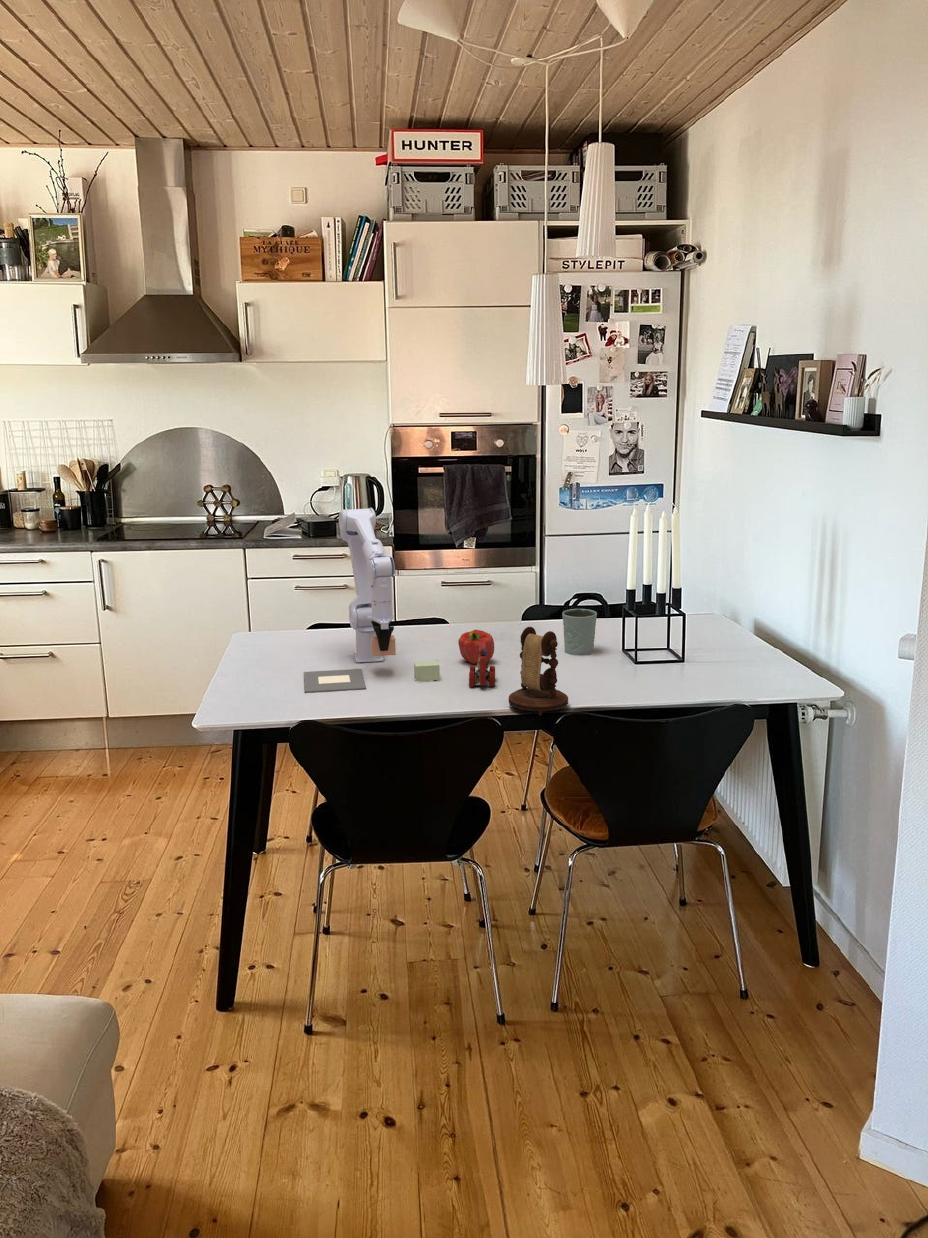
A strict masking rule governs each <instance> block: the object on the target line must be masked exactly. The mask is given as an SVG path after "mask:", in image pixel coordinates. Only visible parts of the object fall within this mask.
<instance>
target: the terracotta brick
mask: <svg viewBox="0 0 928 1238" xmlns="http://www.w3.org/2000/svg"><path fill="white" fill-rule="evenodd" d="M396 648H397V646H396V637H395V635H394V634H391V637H390V642H389V648H388V651H380V648H379V644H378V638H377V636H371V653H372V656H383V657H384V656H385V657H386V656H396V654H397V653H396Z"/></svg>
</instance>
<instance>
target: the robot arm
mask: <svg viewBox="0 0 928 1238" xmlns="http://www.w3.org/2000/svg"><path fill="white" fill-rule="evenodd" d="M376 515H377V514H376V512H375V510H374V509H373V507H369V508H354V509H353V508H352V509H351V508H350V509H344V508H343V509H341V510H340V511H339V513H338V527H339V531H340V537H341V539H342V541H344V542H346V543H347V545H348V549H349V554H350V559H351V569H352V573H353V580H354V581H353V582H354V588H355V594H356V597H355V598H354V599H353V600H352V601H351V602H350V603H349V606H348V612H349V613H348V614H349V615H348V619H349V624H350V627H351V628H352V630H355V650H356V651H355V652H354V653H353V655H354V658H355V662H356V664H357V663H371V662H372V663H374V662H384V659H385V658H384V656H372V653H371V636H377V638H378V644H379V648H380V651H388V648H389V642H390V637H391V635H393V632H394V629H395V626H394V625H392V622H393V620H394V613H393V612H394V611H393V582H392V581H393V577H394V575H395V572H396V571H395V561H394V558H393V556H392V555H390V554H389V553H387V552H386V550H385V547H384V545H383V543H382V541H381V540H380V539H377V538H376V535H375V534H376V533H375V528H376V525H377V524H376V523H377V518H376Z"/></svg>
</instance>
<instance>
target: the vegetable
mask: <svg viewBox="0 0 928 1238" xmlns="http://www.w3.org/2000/svg"><path fill="white" fill-rule="evenodd" d="M480 642H486V650H487V655H486V660H487V663H488V662H489V661H490V660H491V659H492V658H493V656H494V653H495V641H494V638H493V636H492V635H491V633H488V632H486V631H484V630H481V629H472V630H471V631H465V632H464V633H462V634H461V635H460V637H459V638H458V641H457V643H458V648H459V652H460V655H461V657H462V658H463V660H465V661H466V662H469V663H470V664H473V665H477V664H478V659H479V657H480Z"/></svg>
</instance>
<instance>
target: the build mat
mask: <svg viewBox="0 0 928 1238" xmlns="http://www.w3.org/2000/svg"><path fill="white" fill-rule="evenodd" d="M303 682H304V683H303V684H304V693H305V694H313V693H324V692H325V693H327V692H343V691H344V692H346V691H358V689H362V690H367V686H366V682H365V678H364V674H363V670H362V668H352V669H351V668H348V669H331V670H318V671H317V670H316V671H315V670H314V671H304V672H303Z"/></svg>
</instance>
